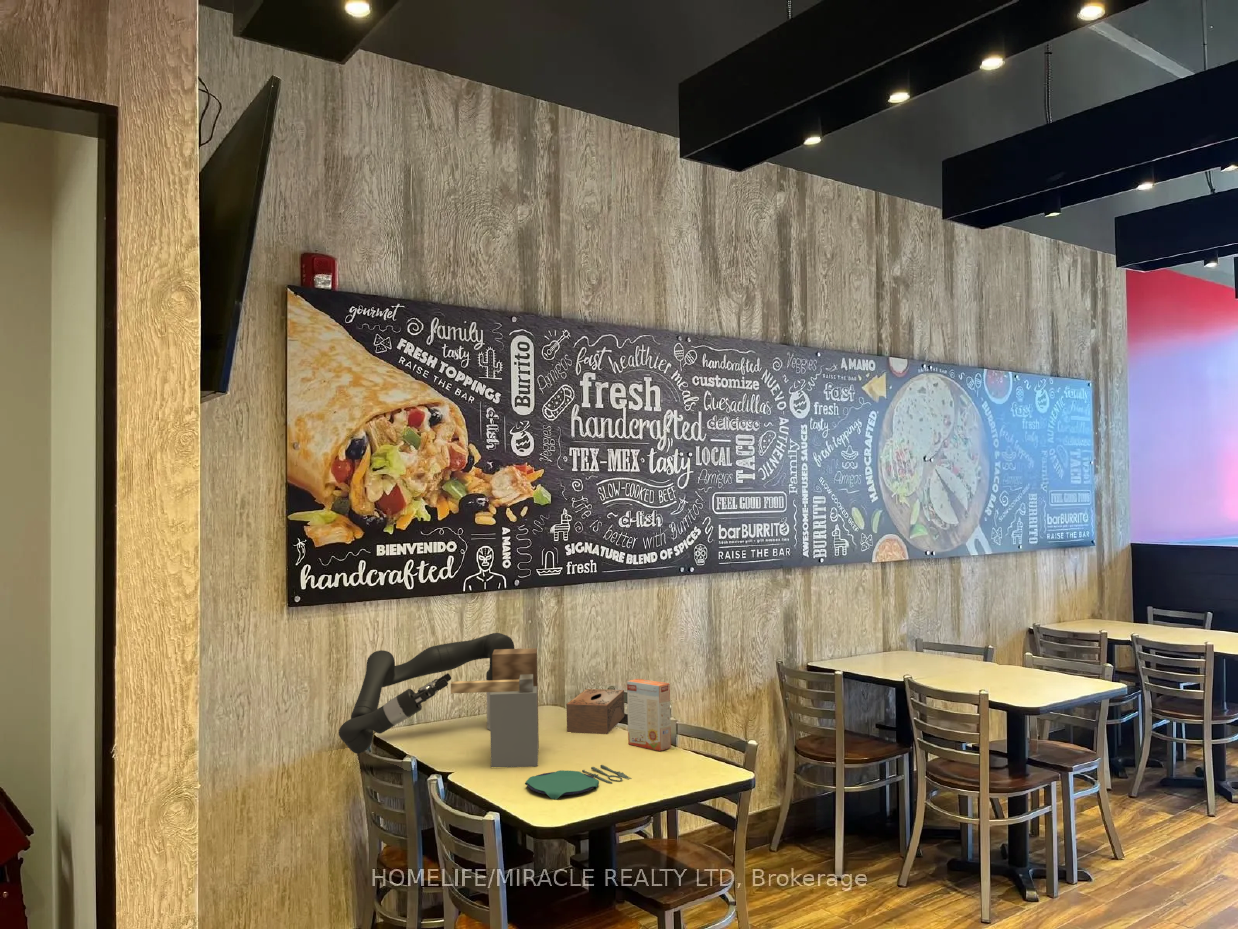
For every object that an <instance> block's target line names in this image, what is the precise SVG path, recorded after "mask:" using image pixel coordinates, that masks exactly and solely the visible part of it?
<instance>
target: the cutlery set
mask: <svg viewBox="0 0 1238 929" xmlns="http://www.w3.org/2000/svg"><path fill="white" fill-rule="evenodd" d="M590 769H591V771H596V772H597V773H600V774H602V775H604V776H606V777H607V779H606V778H603V777H601V776H599V774H597V773H592V772H589V771H587V770H586V769H582V772H581V771H580V770H579V771H578V770H563V769H561V770H557V771H550V772H544V773H541V774H536V775H532V776H529V777H528V779H527V780H526V781H525V782H524V784H525V785H526V786H527V788H528V789H530V790H531V791H533V792H535V793H539V794H542V795H547V797H549V798H550V799H552V800H557V799H559V798H560V797H561V796H569V795H570V796H571V795H577V794H582V793H586V792H588V791H591V790H592V789H594V790H595V789H596V790H597V788H598V786H599V784H600V781H602V782H604V783H607V784H613V782H621V781H623V779H625V780H632V779H633V777H630V776H628V775H627V774H625V773H624V772H621V771H616V770H613V769H611V768H609V767H608V766H606V765H604V764H601V765H600V769H599V768H597V767H595V766H591V767H590ZM602 769H603V770H605V771H607V772H610V773H612V774H610V775H609V774H608V773H606V772H604V771H603V770H602ZM614 774H615V775H614ZM612 778H613V779H612ZM614 778H617V779H614ZM599 780H600V781H599Z"/></svg>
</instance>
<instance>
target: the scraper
mask: <svg viewBox="0 0 1238 929" xmlns="http://www.w3.org/2000/svg"><path fill="white" fill-rule="evenodd" d="M509 691H519V693H530V692H533V674H524V675H520V679H517V680H487V679H485V680H463V681H459V680H458V681H451V682H450V694H468V693H469V694H472V693H475V694H476V693H478V694H479V693H480V694H481V693H487V692H509Z"/></svg>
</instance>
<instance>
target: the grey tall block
mask: <svg viewBox="0 0 1238 929" xmlns="http://www.w3.org/2000/svg"><path fill="white" fill-rule="evenodd" d="M489 732H490V768H491V767H507V768H526V767H527V768H529V767H530V768H531V767H538V766H539V765H538V764H539V763H538V762H539V750H538V734H539V719H538V720H537V686H533V692H530V693H519V691H509V692H491V693H490V730H489Z"/></svg>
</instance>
